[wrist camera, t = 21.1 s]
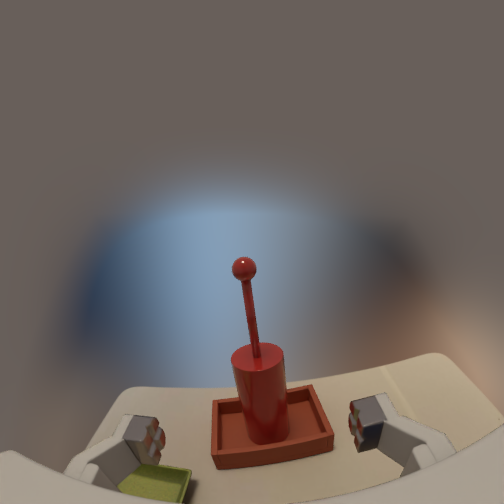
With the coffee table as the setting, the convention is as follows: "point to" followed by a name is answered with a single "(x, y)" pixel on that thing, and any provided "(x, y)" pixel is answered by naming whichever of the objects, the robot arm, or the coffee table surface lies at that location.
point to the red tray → (293, 447)
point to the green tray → (157, 483)
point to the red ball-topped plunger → (259, 373)
